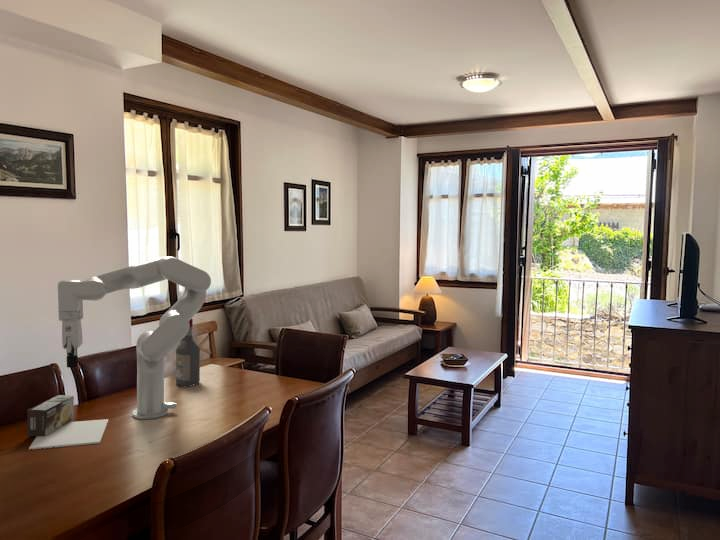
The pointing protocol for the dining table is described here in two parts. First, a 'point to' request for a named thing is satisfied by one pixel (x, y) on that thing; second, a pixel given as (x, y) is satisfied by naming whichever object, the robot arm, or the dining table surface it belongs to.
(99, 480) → the dining table surface
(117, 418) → the dining table surface
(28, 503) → the dining table surface
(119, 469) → the dining table surface
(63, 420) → the coffee box
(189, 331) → the liquor
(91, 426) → the mat
